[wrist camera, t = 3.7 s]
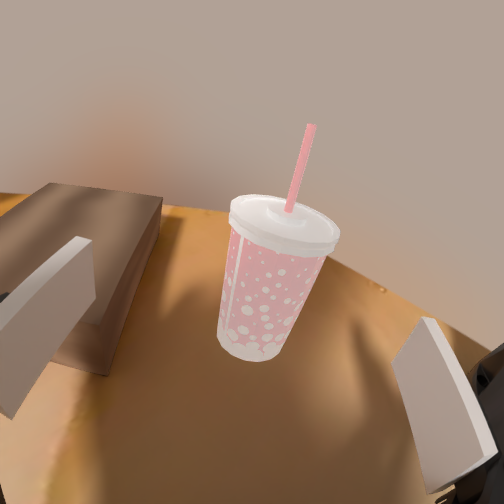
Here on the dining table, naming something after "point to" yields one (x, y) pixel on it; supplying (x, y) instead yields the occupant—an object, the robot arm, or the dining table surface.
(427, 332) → the robot arm
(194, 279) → the dining table surface
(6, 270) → the walnut pedestal
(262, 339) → the beverage cup
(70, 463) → the dining table surface
